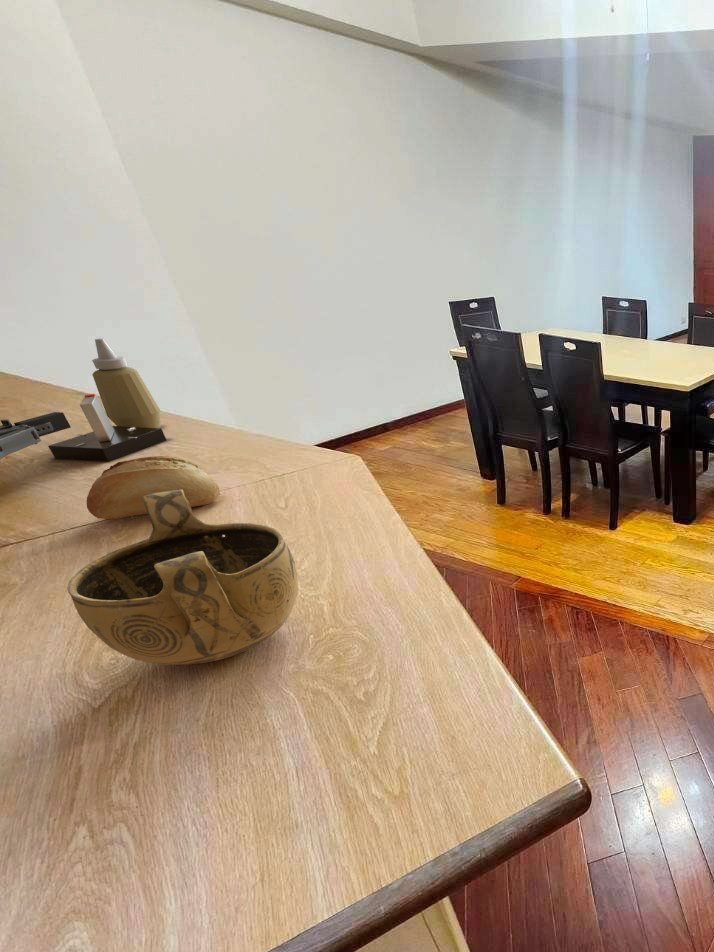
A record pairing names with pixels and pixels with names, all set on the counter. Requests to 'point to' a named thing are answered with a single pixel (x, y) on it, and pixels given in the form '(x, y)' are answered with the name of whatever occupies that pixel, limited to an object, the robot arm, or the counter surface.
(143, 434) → the panel
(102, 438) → the red-tipped white tile
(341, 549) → the counter surface
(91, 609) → the ceramic bowl
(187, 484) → the bread roll
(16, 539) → the counter surface
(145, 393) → the squeeze bottle
